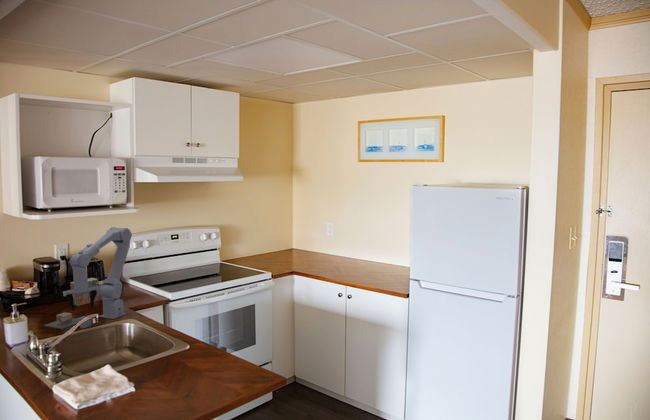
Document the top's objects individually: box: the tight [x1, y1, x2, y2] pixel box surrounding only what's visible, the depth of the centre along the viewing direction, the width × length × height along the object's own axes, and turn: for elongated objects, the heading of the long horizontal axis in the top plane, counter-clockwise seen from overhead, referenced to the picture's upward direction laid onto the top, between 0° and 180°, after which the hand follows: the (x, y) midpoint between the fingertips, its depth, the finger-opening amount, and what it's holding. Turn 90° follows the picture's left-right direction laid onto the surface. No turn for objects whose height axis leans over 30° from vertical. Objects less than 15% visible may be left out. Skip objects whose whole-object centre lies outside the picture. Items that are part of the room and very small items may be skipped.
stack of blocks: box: [69, 277, 104, 307], centre depth 255 cm, size 21×6×12 cm, turn 144°
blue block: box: [75, 315, 92, 329], centre depth 215 cm, size 4×4×4 cm
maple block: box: [56, 312, 73, 325], centre depth 218 cm, size 4×4×4 cm
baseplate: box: [43, 317, 76, 330], centre depth 218 cm, size 12×12×1 cm
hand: (82, 308), depth 214 cm, fingers open, 7 cm apart
